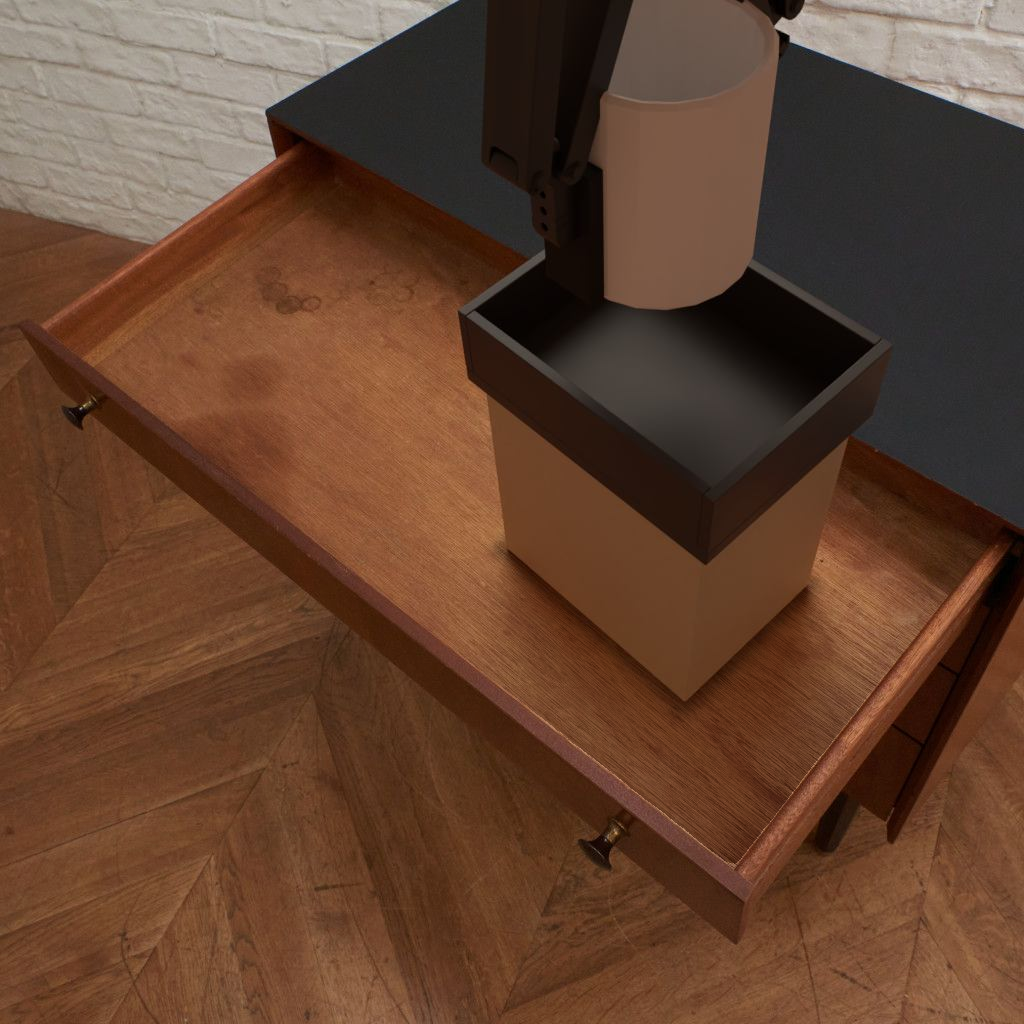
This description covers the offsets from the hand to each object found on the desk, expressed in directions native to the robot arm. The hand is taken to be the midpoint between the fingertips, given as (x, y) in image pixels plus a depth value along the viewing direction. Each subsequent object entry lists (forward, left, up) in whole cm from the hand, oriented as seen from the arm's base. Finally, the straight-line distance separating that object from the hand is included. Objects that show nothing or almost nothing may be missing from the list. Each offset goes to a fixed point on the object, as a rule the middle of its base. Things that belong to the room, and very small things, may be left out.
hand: (646, 233), depth 50 cm
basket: (-2, 0, -10) cm, 10 cm away
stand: (-2, 0, -26) cm, 26 cm away
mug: (+1, 0, 0) cm, 1 cm away
